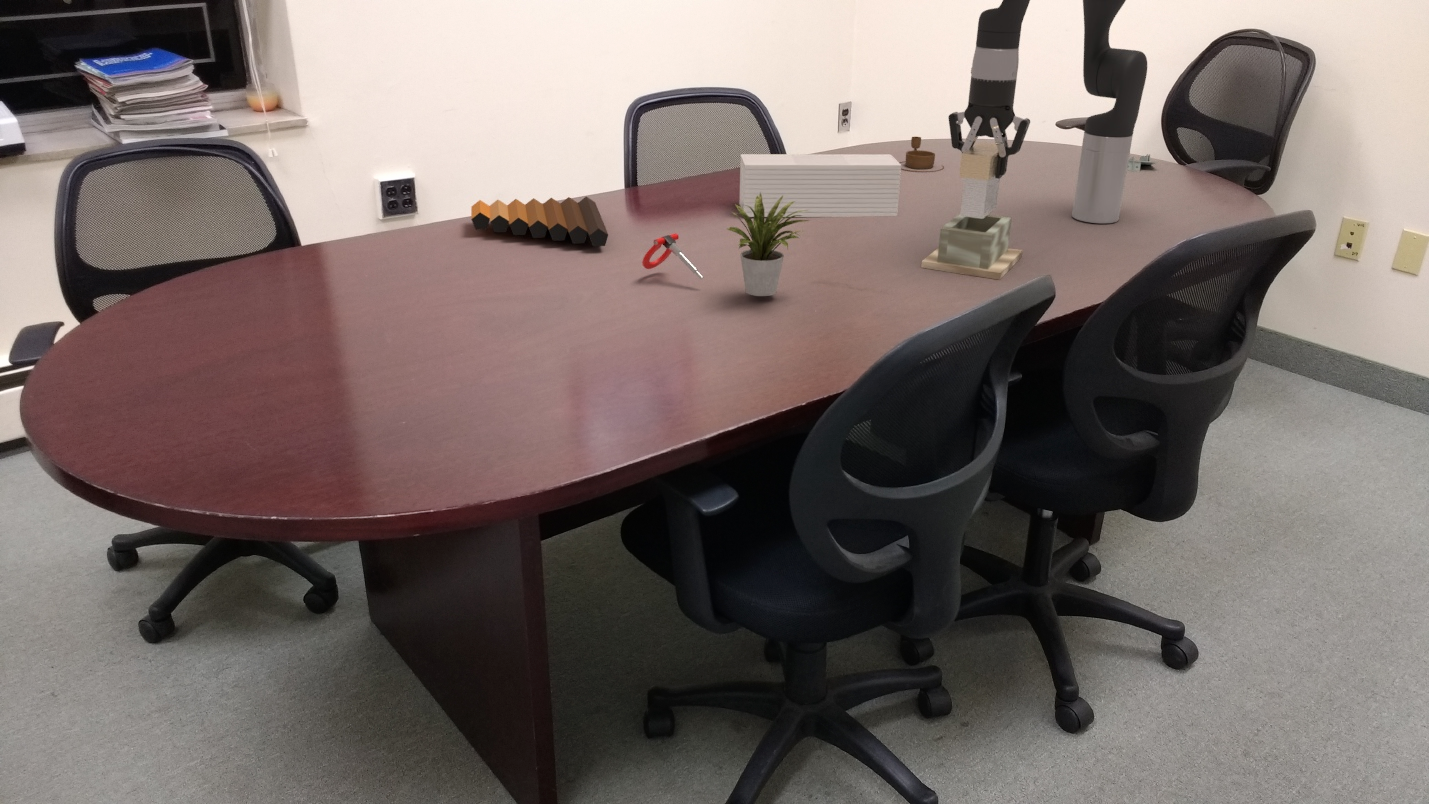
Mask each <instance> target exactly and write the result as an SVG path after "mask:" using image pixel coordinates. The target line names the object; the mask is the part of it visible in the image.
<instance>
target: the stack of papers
mask: <svg viewBox="0 0 1429 804" xmlns="http://www.w3.org/2000/svg"><path fill="white" fill-rule="evenodd" d="M899 162H900V161H898V160H897V159H896V158H895V157H894V156H893V155H892V154H889V153H887V154H886V153H885V154H880V153H879V154H868V153H867V154H861V153H860V154H859V153H855V154H854V153H852V154H846V153H845V154H843V153H841V154H840V153H839V154H838V153H836V154H835V153H834V154H831V153H830V154H829V153H828V154H821V153H818V154H816V153H812V154H810V153H809V154H807V153H806V154H805V153H804V154H798V153H794V154H792V153H790V154H789V153H785V154H782V153H781V154H778V153H776V154H775V153H773V154H771V153H766V154H765V153H764V154H763V153H761V154H760V153H759V154H758V153H757V154H756V153H752V154H751V153H743V154H741V153H740V166H739V167H740V168H739V169H740V171H739V172H740V173H739V202H738V203H739V206H740V207H741V208H742V209H743V210H744V211H745V213H746V214H747V215H748V216H749V217H750V218H754V214H753V212H752V210H751V209H750V208H749V207H748V206H750V207H751V208H752V209H753V210H754V211H755V200H756V197H757V196H758V197H759V195H760V193H761V195H762V202H763V206H764V218H767V216H768V214H769V212H770V210H771V209H772V208H773V206H774V205H775V204H776V202H777V201H778V200H779V199H780V198H781V197H782V196H783V198H782V200H781V202H780V204H779V206H778V208H777V210H776V212H775V214H774V216H775V215H777V214H778V212H779V211H780V210H781V209H782V208H783V207H784V206H785V205H787V204H788V203H791V202H793V201H795V202H794V203H793V204H792V205H790V206H789V207H788V209H787V211H786V213H785V215H784V216H783V217H782V218H785V217H786V216H787V215H789V214H791V213H794V212H796V211H801V210H808V211H802V212H797V213H795V214H792V215H790V216H788V217H787V218H789V217H791V216H794V215H801V216H795V217H794V218H847V217H848V218H849V217H850V218H851V217H853V218H854V217H856V218H857V217H897V216H898V211H899V201H900V199H899V198H900V188H901V185H900V184H901V177H902V175H901V174H902V170H900V169H901V168H902V167H903V166H902V164H901V163H899ZM745 205H747V206H745Z"/></svg>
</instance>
